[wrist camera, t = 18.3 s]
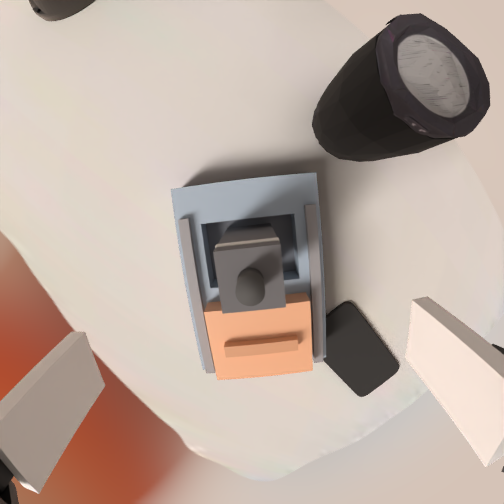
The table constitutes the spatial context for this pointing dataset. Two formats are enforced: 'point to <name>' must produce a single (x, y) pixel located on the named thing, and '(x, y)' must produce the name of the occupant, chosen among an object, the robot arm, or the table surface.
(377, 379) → the phone
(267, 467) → the table surface
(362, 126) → the portable speaker
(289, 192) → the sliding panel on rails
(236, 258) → the grey bottle-shaped block
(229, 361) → the panel
